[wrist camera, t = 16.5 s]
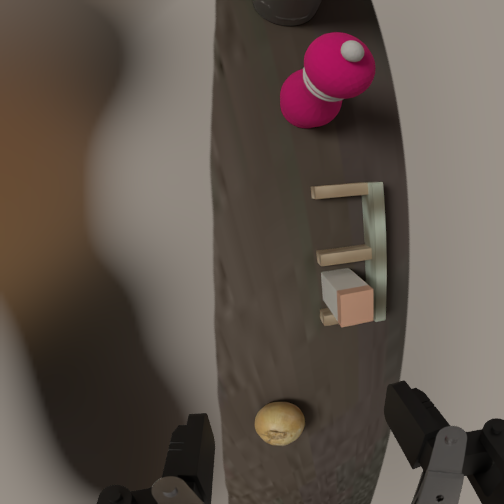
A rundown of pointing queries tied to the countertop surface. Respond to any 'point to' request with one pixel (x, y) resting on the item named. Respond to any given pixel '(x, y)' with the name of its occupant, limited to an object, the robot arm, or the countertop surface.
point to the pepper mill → (326, 79)
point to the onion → (279, 423)
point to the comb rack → (369, 251)
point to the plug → (347, 297)
